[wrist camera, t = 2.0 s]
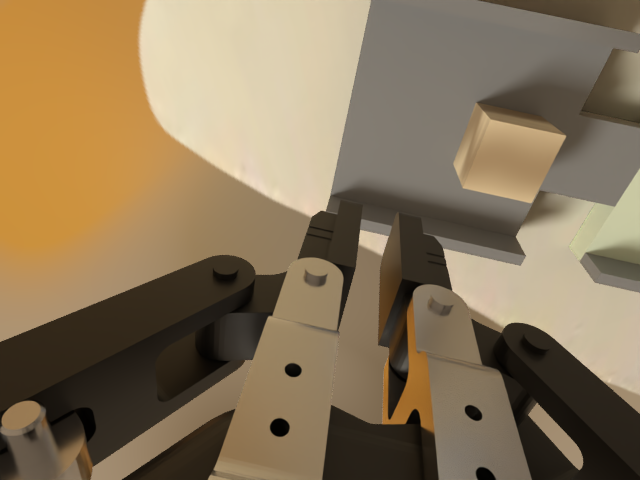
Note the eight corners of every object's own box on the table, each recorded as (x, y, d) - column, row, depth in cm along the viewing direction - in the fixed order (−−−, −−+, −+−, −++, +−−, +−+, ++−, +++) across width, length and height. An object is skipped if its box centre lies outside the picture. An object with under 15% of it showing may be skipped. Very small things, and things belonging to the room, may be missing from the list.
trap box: (376, -19, 24) (374, -22, 20) (823, 74, 23) (911, 89, 19) (331, 193, 31) (323, 221, 27) (667, 268, 30) (707, 307, 26)
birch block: (476, 102, 24) (490, 119, 21) (541, 116, 24) (566, 135, 21) (453, 163, 26) (462, 188, 23) (513, 176, 26) (531, 203, 23)
